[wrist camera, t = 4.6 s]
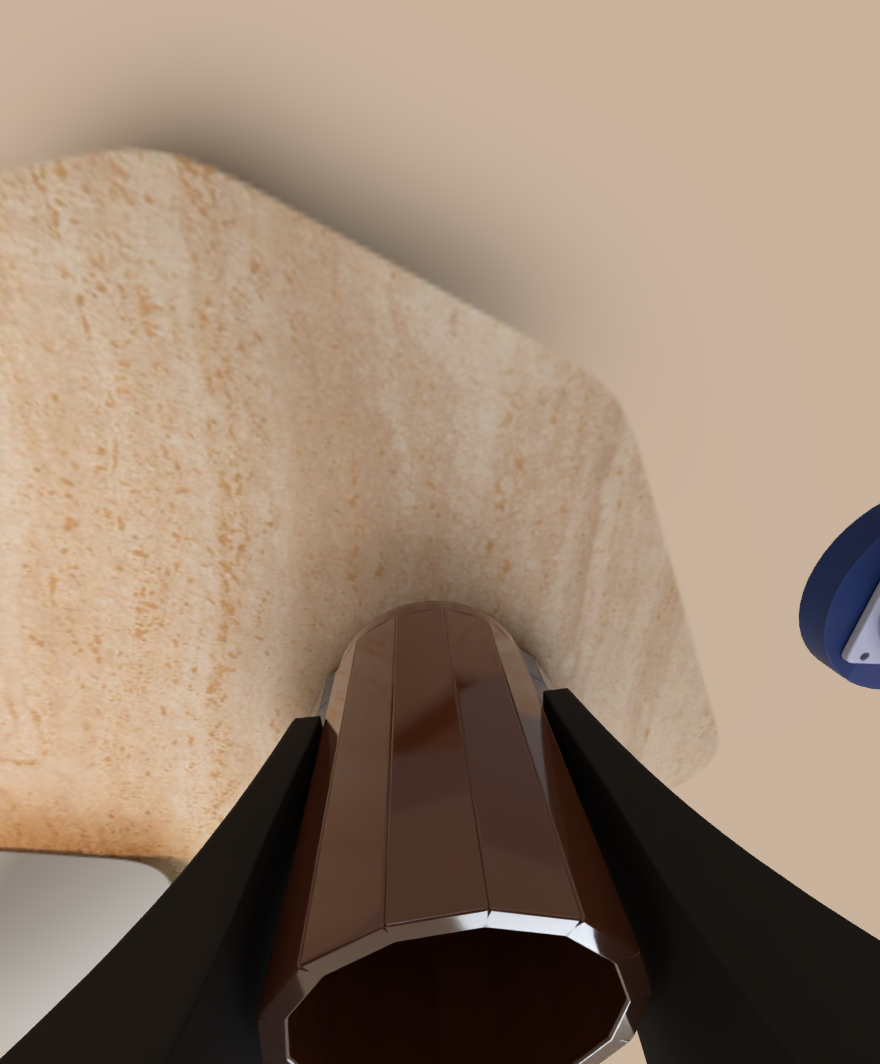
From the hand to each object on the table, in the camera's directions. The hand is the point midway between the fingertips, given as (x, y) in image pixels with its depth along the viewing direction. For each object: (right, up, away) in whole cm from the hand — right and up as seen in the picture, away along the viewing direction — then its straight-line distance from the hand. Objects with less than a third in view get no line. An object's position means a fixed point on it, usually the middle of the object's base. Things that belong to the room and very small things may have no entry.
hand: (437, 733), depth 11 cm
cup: (0, +1, +2) cm, 2 cm away
